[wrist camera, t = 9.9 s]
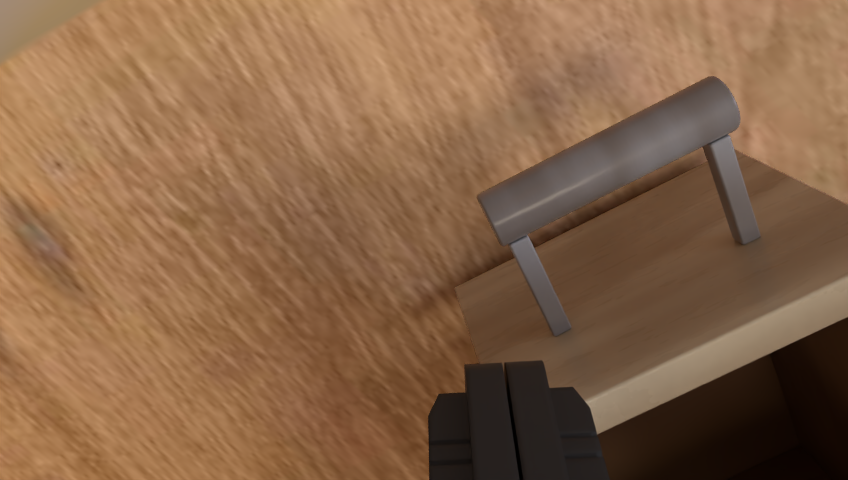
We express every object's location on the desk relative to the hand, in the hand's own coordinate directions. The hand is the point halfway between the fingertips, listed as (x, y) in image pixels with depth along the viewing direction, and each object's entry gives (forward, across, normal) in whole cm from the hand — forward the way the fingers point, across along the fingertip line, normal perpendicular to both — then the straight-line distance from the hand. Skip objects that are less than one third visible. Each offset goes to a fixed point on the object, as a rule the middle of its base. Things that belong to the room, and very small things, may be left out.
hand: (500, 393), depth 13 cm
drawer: (+11, -6, +8) cm, 15 cm away
